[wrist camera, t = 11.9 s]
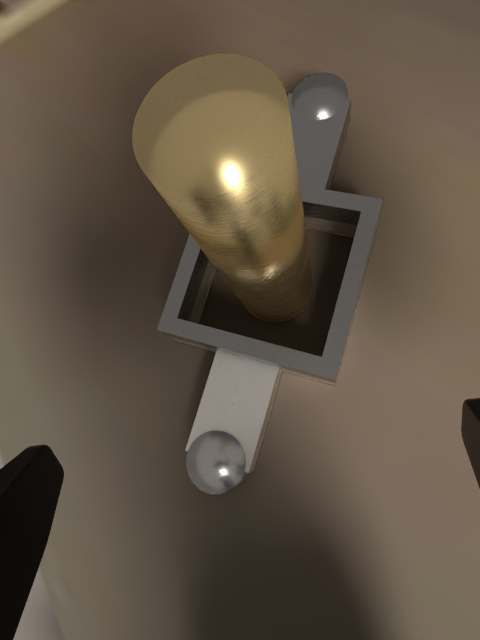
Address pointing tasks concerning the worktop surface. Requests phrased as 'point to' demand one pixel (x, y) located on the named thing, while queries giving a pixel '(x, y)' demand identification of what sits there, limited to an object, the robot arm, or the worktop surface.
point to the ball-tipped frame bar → (258, 356)
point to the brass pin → (231, 176)
